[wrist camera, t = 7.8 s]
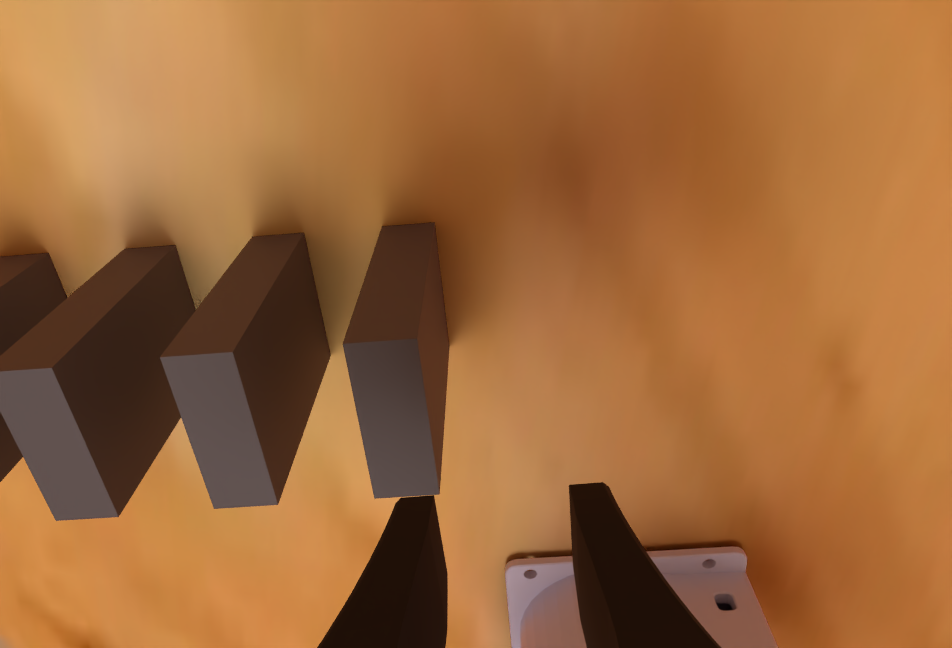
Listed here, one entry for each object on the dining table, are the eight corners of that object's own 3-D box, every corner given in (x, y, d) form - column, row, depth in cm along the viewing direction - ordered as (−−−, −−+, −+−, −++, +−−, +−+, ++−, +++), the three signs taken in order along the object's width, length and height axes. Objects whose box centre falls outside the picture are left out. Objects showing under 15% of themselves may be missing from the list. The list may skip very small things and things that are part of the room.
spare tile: (175, 245, 21) (51, 367, 15) (213, 365, 23) (118, 516, 17) (124, 249, 21) (-20, 372, 15) (166, 369, 23) (55, 520, 17)
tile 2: (303, 232, 21) (232, 351, 15) (330, 355, 23) (277, 504, 17) (252, 236, 21) (159, 356, 15) (283, 359, 23) (214, 508, 17)
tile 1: (434, 222, 21) (417, 338, 15) (449, 347, 23) (439, 494, 17) (382, 226, 21) (342, 343, 15) (401, 350, 23) (374, 498, 17)
